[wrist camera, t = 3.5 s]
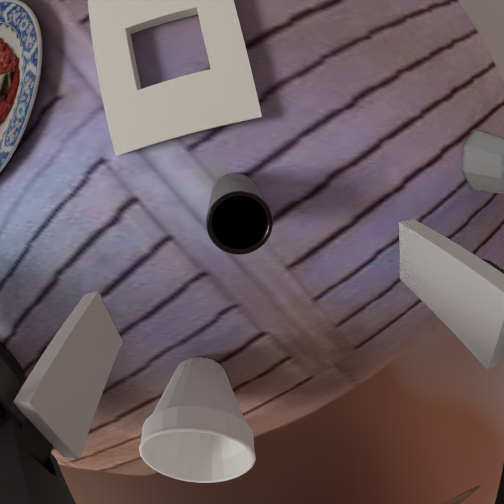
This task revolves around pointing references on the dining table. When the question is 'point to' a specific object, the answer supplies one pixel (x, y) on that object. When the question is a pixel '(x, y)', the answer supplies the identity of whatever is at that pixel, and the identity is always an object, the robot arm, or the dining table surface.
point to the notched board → (175, 90)
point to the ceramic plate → (17, 72)
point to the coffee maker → (484, 162)
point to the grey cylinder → (238, 215)
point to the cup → (198, 427)
